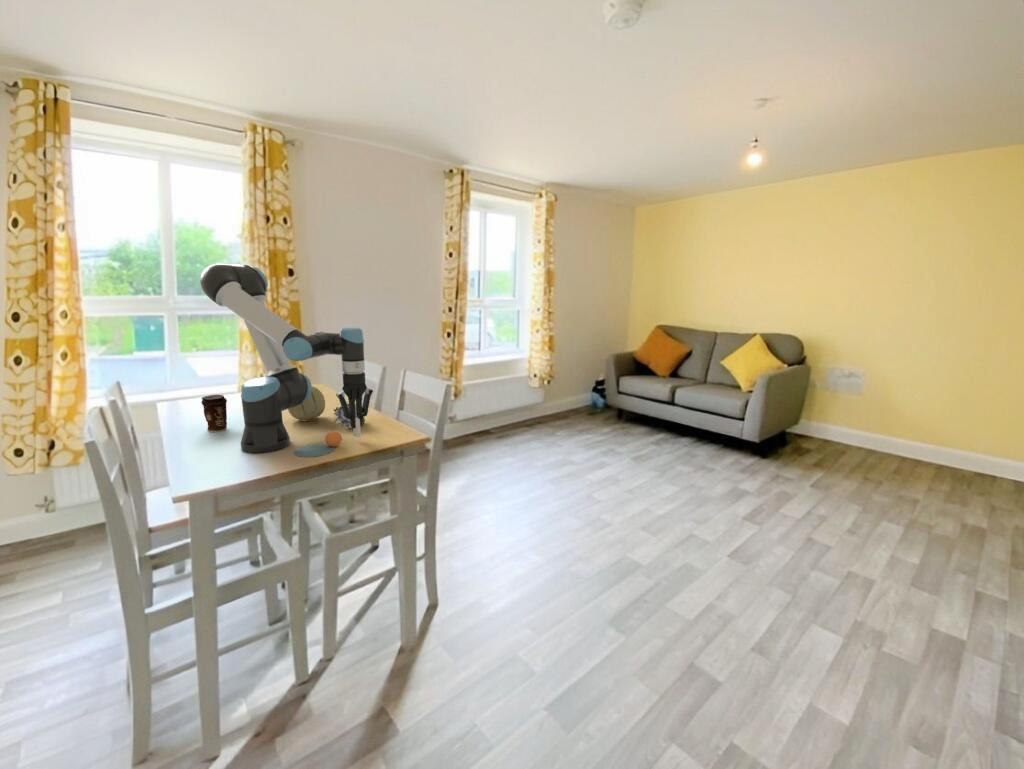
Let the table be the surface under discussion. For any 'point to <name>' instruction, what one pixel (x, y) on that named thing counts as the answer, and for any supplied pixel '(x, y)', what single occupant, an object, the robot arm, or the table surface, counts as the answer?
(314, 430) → the table surface
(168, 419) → the table surface
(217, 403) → the coffee cup
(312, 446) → the mark
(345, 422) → the passion flower
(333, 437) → the ball
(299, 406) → the cantaloupe
